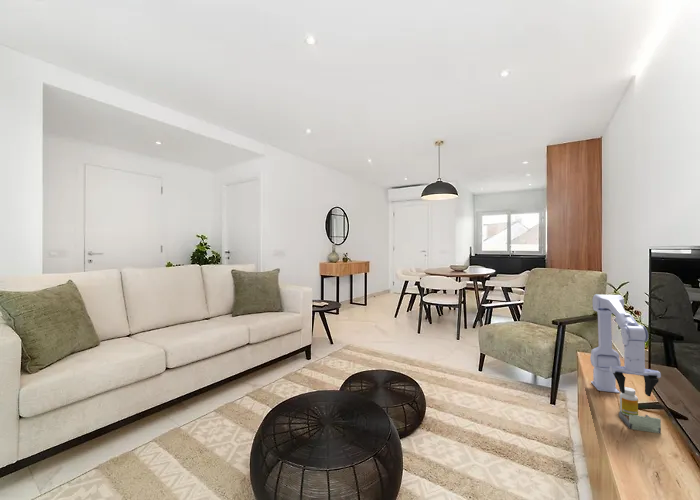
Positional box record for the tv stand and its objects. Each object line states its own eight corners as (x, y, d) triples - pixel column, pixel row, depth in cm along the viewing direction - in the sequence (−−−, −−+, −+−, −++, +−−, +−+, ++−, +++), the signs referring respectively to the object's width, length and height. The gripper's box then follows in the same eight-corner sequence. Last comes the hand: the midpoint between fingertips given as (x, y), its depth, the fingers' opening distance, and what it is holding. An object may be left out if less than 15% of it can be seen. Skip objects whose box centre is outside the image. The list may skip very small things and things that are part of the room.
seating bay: (619, 416, 122) (618, 403, 121) (647, 420, 118) (647, 407, 118) (629, 428, 113) (629, 415, 113) (660, 433, 110) (660, 419, 110)
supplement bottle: (641, 418, 120) (641, 392, 120) (625, 416, 121) (625, 391, 121) (632, 410, 125) (631, 386, 125) (616, 409, 126) (616, 385, 126)
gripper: (615, 359, 117) (615, 395, 117) (665, 363, 112) (665, 401, 112) (607, 353, 124) (607, 387, 124) (654, 356, 119) (655, 392, 119)
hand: (634, 393), depth 118 cm, fingers open, 7 cm apart
